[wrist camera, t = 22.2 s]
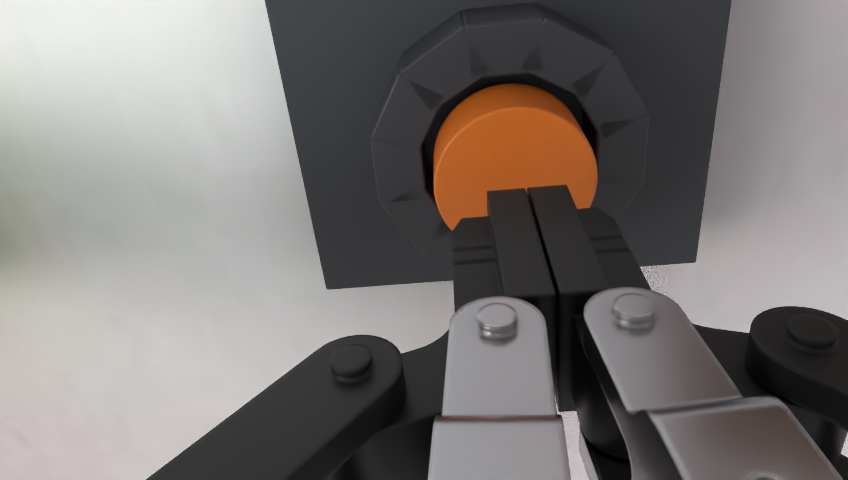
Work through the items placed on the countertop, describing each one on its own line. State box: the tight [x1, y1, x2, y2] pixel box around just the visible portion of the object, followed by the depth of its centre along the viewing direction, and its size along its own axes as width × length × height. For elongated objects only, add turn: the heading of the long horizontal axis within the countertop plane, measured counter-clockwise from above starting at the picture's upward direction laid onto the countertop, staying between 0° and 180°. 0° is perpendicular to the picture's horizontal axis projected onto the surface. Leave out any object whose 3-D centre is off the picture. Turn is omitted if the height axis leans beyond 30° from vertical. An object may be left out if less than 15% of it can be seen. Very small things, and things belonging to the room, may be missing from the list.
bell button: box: [434, 83, 598, 231], centre depth 15 cm, size 4×4×2 cm
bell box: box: [265, 0, 731, 289], centre depth 17 cm, size 11×9×4 cm
